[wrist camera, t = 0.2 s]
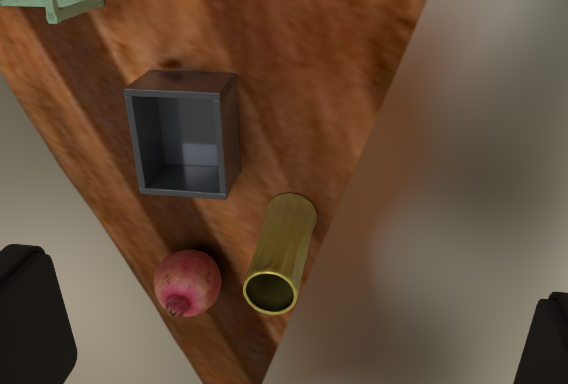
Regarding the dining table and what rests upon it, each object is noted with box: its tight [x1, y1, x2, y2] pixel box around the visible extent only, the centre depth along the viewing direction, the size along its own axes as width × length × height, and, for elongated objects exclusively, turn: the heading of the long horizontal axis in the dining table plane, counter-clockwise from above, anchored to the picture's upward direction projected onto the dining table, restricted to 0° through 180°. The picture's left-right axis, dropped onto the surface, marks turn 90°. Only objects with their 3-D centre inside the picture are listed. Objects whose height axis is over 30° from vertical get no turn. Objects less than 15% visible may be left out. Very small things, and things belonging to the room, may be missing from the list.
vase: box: [243, 193, 317, 315], centre depth 54 cm, size 6×6×14 cm
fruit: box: [154, 249, 222, 318], centre depth 62 cm, size 8×8×10 cm
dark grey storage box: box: [124, 70, 241, 200], centre depth 54 cm, size 11×9×7 cm
